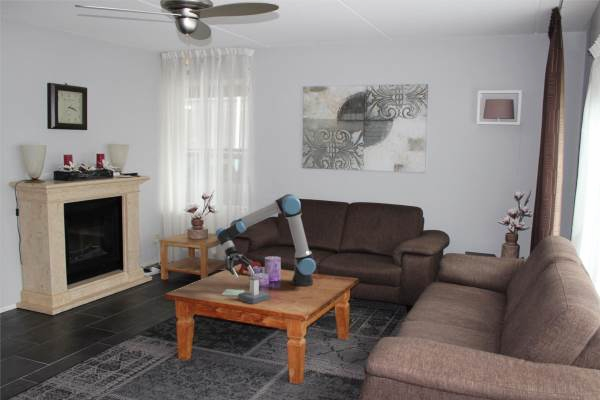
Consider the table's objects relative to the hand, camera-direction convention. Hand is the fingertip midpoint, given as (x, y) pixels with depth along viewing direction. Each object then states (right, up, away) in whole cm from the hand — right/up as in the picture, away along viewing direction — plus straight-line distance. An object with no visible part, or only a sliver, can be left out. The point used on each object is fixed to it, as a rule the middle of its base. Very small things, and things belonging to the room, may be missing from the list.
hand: (245, 276), depth 333 cm
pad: (-9, -12, +9) cm, 17 cm away
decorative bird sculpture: (-6, -7, +62) cm, 63 cm away
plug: (+6, -14, -3) cm, 16 cm away
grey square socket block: (+6, -14, -3) cm, 15 cm away
